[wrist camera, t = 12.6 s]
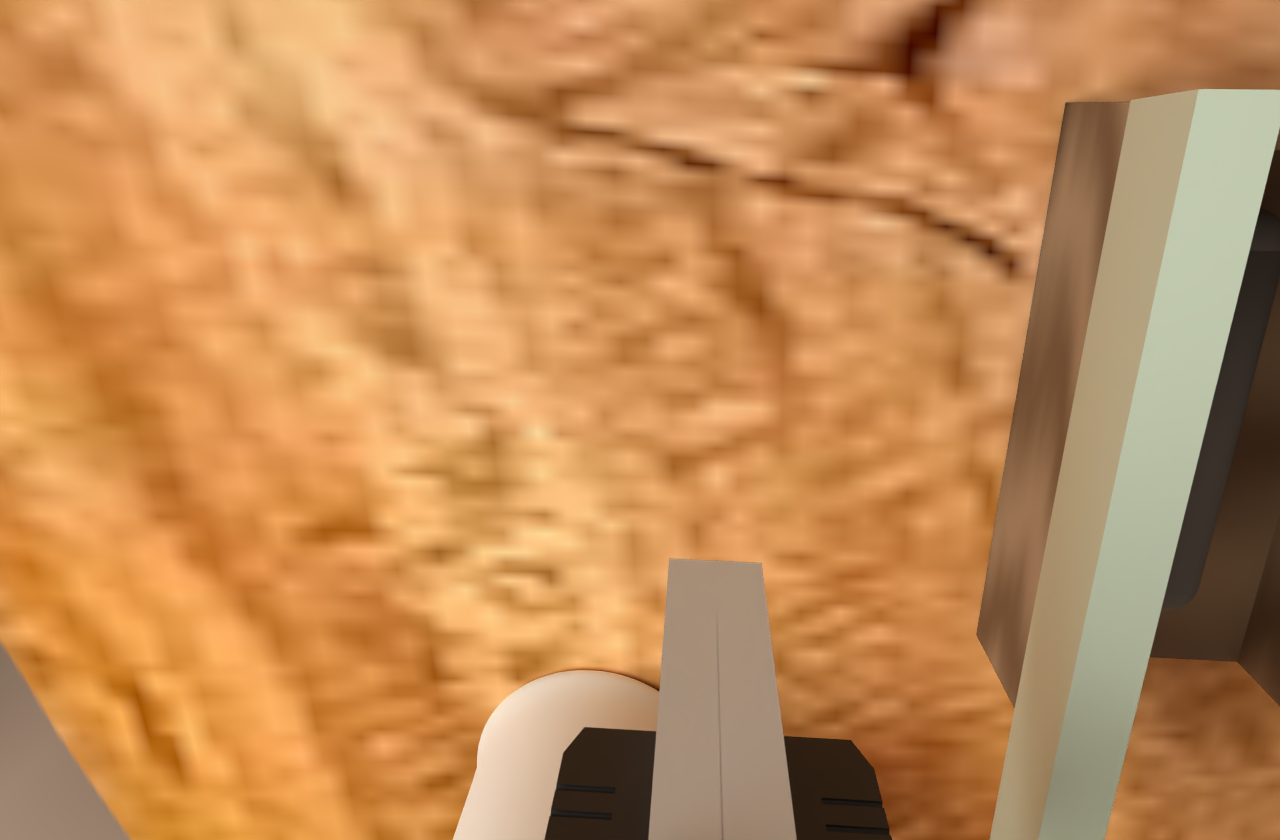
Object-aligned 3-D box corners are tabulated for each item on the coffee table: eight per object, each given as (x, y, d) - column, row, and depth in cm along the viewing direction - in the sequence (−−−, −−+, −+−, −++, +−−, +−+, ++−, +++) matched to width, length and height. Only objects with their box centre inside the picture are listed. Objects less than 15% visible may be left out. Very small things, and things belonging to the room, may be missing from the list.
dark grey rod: (1191, 202, 24) (1233, 209, 22) (1267, 203, 24) (1314, 211, 22) (1106, 587, 28) (1135, 621, 26) (1171, 590, 28) (1205, 624, 26)
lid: (1202, 101, 18) (1064, 99, 19) (1348, 90, 9) (1073, 87, 10) (1008, 995, 26) (920, 962, 27) (985, 1447, 17) (855, 1374, 18)
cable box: (1065, 102, 24) (1199, 101, 18) (1408, 108, 24) (1677, 109, 17) (976, 634, 30) (1052, 783, 23) (1251, 649, 30) (1408, 804, 23)
